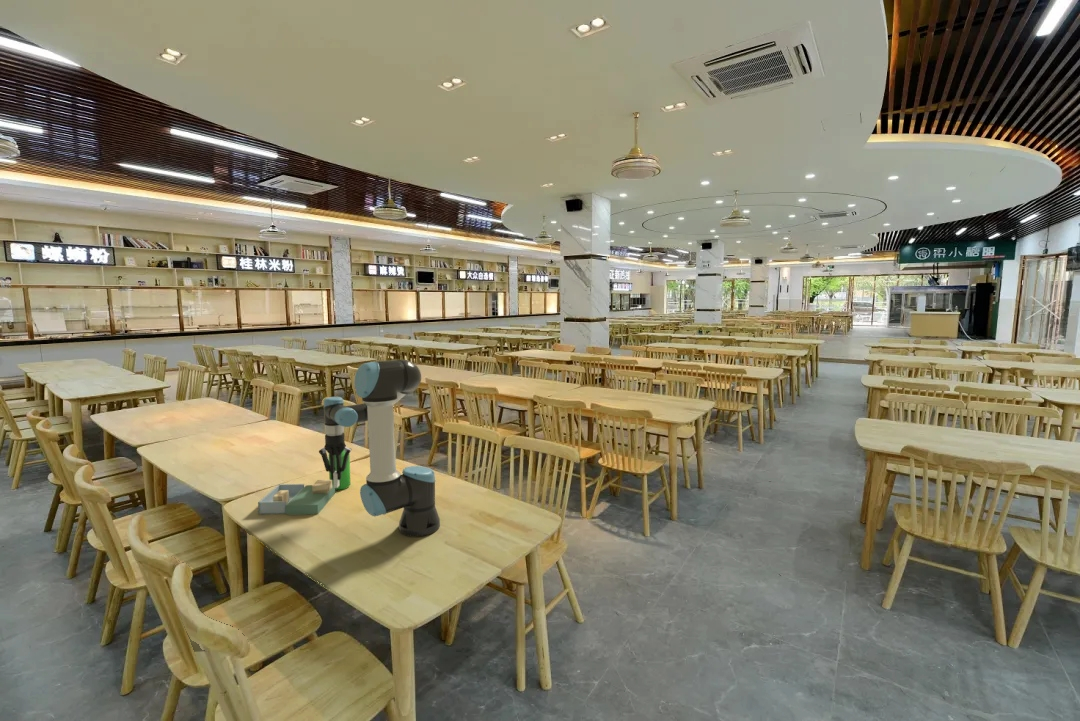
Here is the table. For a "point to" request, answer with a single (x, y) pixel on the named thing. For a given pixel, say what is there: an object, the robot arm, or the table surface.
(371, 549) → the table surface
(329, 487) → the wooden block stack
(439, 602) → the table surface
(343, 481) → the bottle
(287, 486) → the tray
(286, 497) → the tile
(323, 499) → the board
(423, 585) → the table surface
